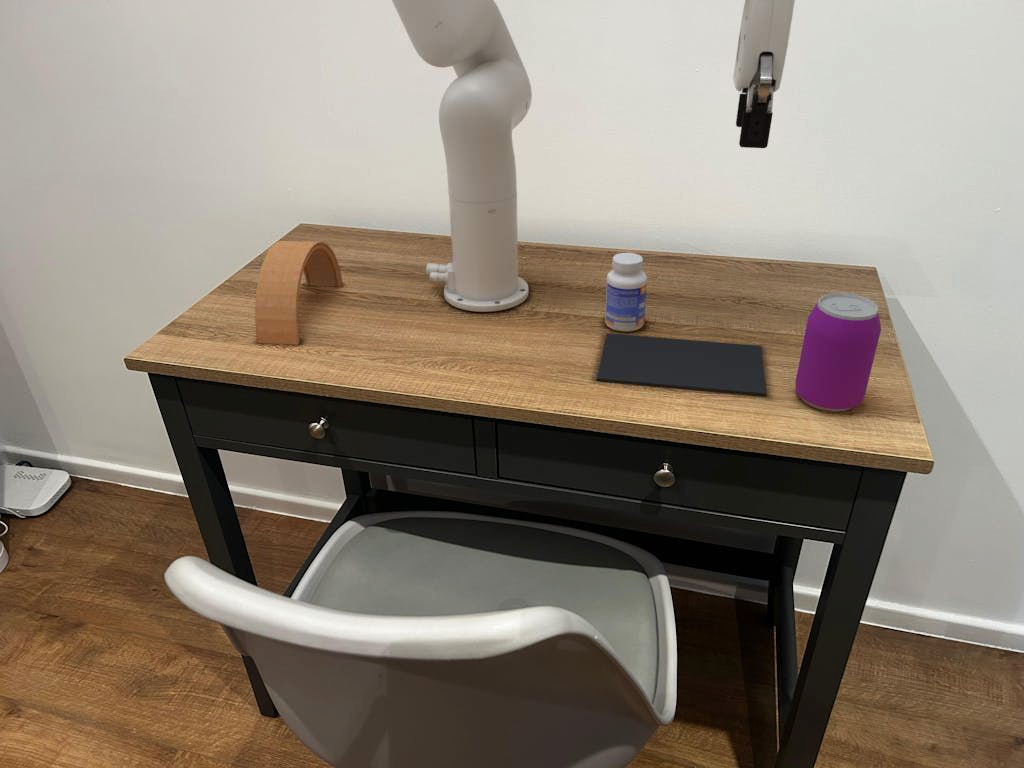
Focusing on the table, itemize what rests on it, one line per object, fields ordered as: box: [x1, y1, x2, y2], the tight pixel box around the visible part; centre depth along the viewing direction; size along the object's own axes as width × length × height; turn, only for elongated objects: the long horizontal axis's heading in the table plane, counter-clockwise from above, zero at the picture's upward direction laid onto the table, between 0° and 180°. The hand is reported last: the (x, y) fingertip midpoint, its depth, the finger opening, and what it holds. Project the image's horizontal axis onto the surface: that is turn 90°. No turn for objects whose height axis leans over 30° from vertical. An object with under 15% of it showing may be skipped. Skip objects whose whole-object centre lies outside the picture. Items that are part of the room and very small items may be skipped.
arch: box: [254, 240, 343, 346], centre depth 114 cm, size 6×20×10 cm, turn 173°
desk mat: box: [596, 333, 767, 397], centre depth 101 cm, size 20×12×1 cm, turn 78°
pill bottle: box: [604, 252, 648, 332], centre depth 109 cm, size 5×5×10 cm
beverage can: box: [794, 292, 882, 413], centre depth 91 cm, size 8×8×12 cm
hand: (750, 136), depth 99 cm, fingers open, 9 cm apart
